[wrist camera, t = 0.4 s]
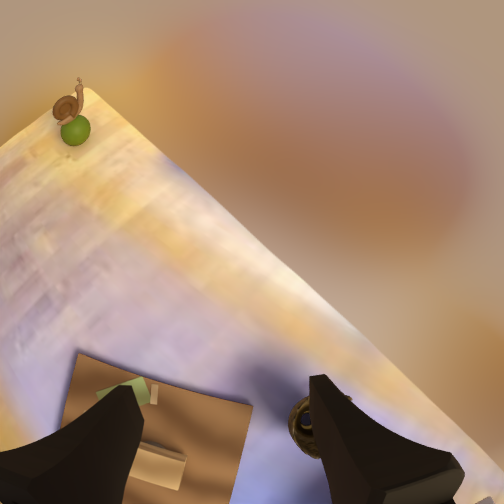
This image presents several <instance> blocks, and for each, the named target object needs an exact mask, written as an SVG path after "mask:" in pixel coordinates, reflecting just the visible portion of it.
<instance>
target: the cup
mask: <svg viewBox="0 0 504 504" xmlns="http://www.w3.org/2000/svg"><path fill="white" fill-rule="evenodd" d="M343 394H344V393H343ZM345 396H346V397H347V398H348V399H349V400H350V401H351V400H352V398H351V397H350V396H347V395H345ZM305 413H309V396H308V397H305V398H304V399H302V400H301V401H299V402H298V403H297V404H296V405H295V406H294V408H293V409H292V411H291V413H290V415H289V419H288V428H289V432H290V435H291V437H292V439H293V440H294V442H295V443H296V444H297V446H298V447H299V448H300V449H301V450H302V451H303V452H304V453H305V454H308V455H309V456H311V457H312V458H315V459H319V458H321V457H320V454H319V451H318V448H317V445H316V442H315V439H314V435H313V431H312V426H311V424H310V425H307V426H306V425H303V424H302V423H301V417H302V415H303V414H305Z"/></svg>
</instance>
